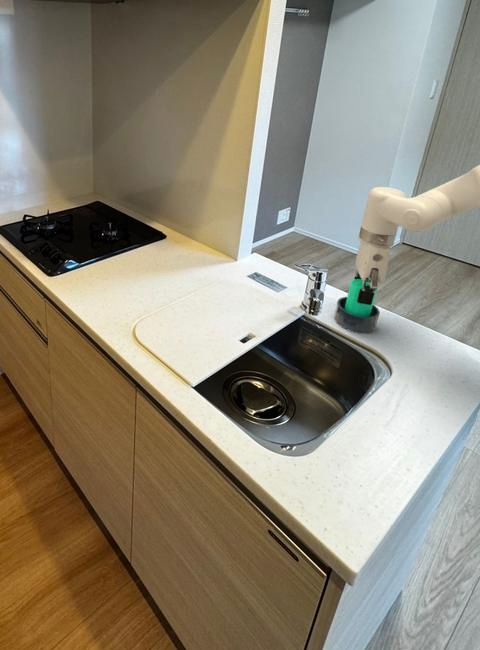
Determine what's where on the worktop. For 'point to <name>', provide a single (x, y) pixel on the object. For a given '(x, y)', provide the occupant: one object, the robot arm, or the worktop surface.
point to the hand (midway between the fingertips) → (361, 295)
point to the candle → (352, 297)
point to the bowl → (355, 318)
